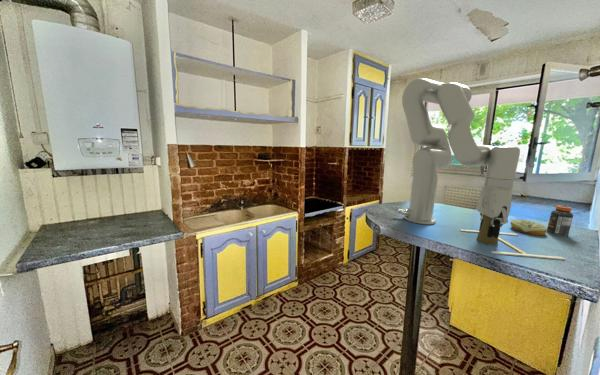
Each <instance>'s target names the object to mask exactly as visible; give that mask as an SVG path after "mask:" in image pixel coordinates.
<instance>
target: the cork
mask: <svg viewBox="0 0 600 375" xmlns="http://www.w3.org/2000/svg"><path fill="white" fill-rule="evenodd" d="M482 217H483V219H484V220H483V223H482V226H481V228H480V227H479V229H480V231H479V230H478V231H479V233H478V234H477V237H476V241H477V242H478V243H481V244H483V245H488V246H498V244H499V240H498V238H495V237H494V236H493V237H488V236H487V234H488V229H489V226H491V219H492V218H490V217H488V216H486V215H484V214H483V215H482ZM497 218H500V216H498V217H497ZM497 220H498V219H495V222H496V221H497Z"/></svg>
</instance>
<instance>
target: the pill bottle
mask: <svg viewBox="0 0 600 375" xmlns="http://www.w3.org/2000/svg"><path fill="white" fill-rule="evenodd" d="M573 218H574V213H572V207H571V206H567V205H560V204H559V205H556V206H555V209H554V210H552V211H551V212H550V216H549V220H548V224H547V227H546V229H547V232H546V233H548V234H550V235H553V236H557V237H568V236H569V234H570V230H571V227H572V226H571V225H572V224H573V223H572V222H573Z"/></svg>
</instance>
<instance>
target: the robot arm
mask: <svg viewBox="0 0 600 375" xmlns="http://www.w3.org/2000/svg"><path fill="white" fill-rule="evenodd" d="M472 95H473V94H472V90H471V88H469V86H467V85H465V84H462V83H458V82H455V81H454V82H447V83H445V82H439V81H438V80H433V79H429V78H424V77H420V78H419V77H418V78H414V79H412V80H411V81H410V82H409V83H408V84H407V85H406V86H405V88H404V90H403V93H402V98H401V104H402V109H403V112H404V115H405V118H406V119H405V120H406V123H407V127H408V131H409V135H410V139H411V141H412V144H414V145H416V146H420V147H422V146H423V147H422V148H420V149H418V150H417V151H416V152H415V153H414V154H413V156H412V182H411V189H410V190H411V191H410V198H409V207H406V208H405V209H399V208H398V209H397V210H396V213H397V215H398V214H400V215H402V216H404V218H403V219H405V220H407V221H408V222H411V223H414V224H418V225H435V224H436V223H437V219H436V218H435V217H433V214H434V207H435V201H436V194H437V188H438V181H439V179H438V171H439V170H444V169H446V168H448V167H450V164H451V163H452V160H453V158H452V156H453V155H454V157H455V159H456V161H457V162H458V163H459V164H460V165H462V166H464V167H477V166H478V167H482V166H484V167H486V166H487V168H486V172H485V177H484V183H483V185H482V187H481V191H480V193H479V197H478V201H477V204H476V211H477V212H478V213H479V214H480V218H479V219H480V223H479V224H480V225H479V228H478V229H479V230H478V231H480V228H481V226H482V223H483V220H484V219H483V217H482V215H483V214H484V215H486V216H488V217H490V218H492V219H491V226H489V229H488V234H487V236H488V237H493V236H494V237H495V238H498V237H500V236H499V235H500V234H499V232H500V230H501V228H502V227H503V225H505V224H508V223H509V215H510V213H511V208H512V207H511V206H512V198H513V188H514V184H515V183H514V182H515V178H516V172H517V169H518V164H519V160H520V159H519V158H520V154H521V149H520V148H519V147H517V146H511V145H495V146H493V145H488V144H477V143H476V141H475V139H474V137H473V135H472V132H471V123H472V121H473V120H474V119H475V112H474V111H473V108H472V107H471V105H470V101H471V99H472ZM424 102H425V103H426V102H428V103H431V104H436V105H439V107H440V110H441V112H442V114H443V116H444V119H445V121H446V123H447V125H448V130H447V132H446V131H445V129H444V128H443V127H442V126H441V125H440V124H437V123H436V124H435V123H432V122H431V120H430V115H429V112H428V109H427V108H426V106H425V105H424ZM452 153H453V154H452ZM498 216H500V218H497V217H498ZM495 219H498V220H497V221H496V222H495Z"/></svg>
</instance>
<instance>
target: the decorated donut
mask: <svg viewBox="0 0 600 375" xmlns="http://www.w3.org/2000/svg"><path fill="white" fill-rule="evenodd" d="M510 226H511V228H512V229H513V230H514V231H517V232H520V233H524V234H526V235H527V234H528V235H531V236H540V237H541V236H544V235H546V233H548V232H547V227H546V226H545V225H543V224H540V223H539V222H535V221H531V220H527V219H512V220H511V221H510Z"/></svg>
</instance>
